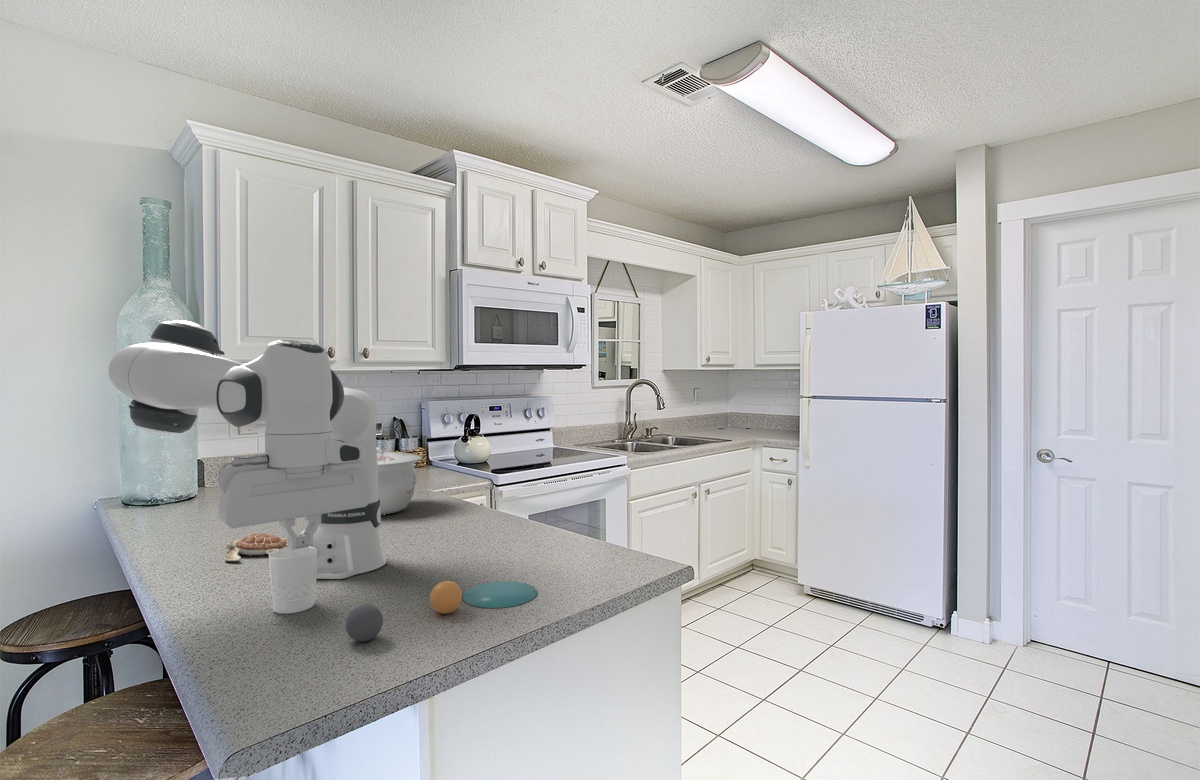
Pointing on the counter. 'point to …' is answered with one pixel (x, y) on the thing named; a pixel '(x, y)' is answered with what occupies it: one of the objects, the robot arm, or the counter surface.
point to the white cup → (293, 579)
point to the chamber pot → (396, 480)
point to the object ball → (446, 597)
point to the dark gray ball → (364, 622)
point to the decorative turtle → (254, 546)
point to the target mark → (499, 594)
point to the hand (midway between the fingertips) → (300, 547)
